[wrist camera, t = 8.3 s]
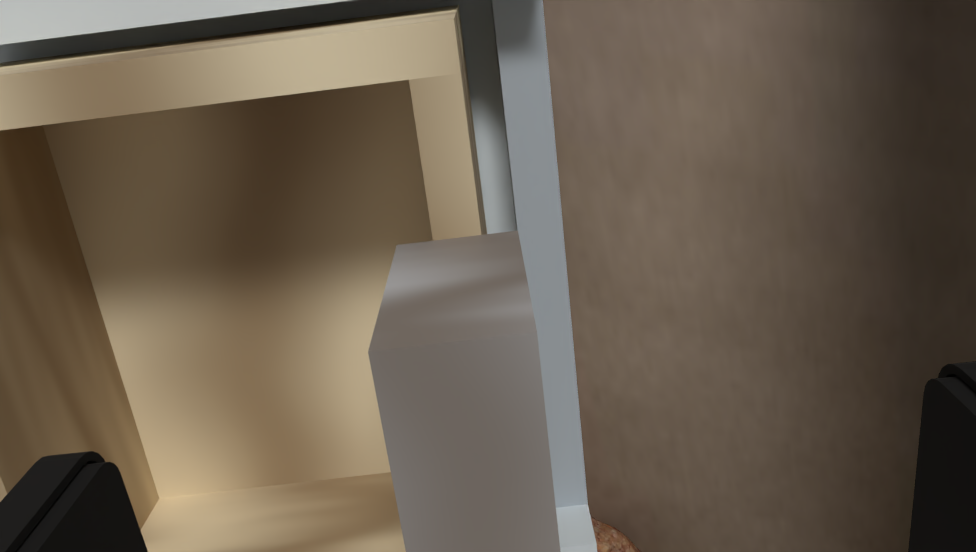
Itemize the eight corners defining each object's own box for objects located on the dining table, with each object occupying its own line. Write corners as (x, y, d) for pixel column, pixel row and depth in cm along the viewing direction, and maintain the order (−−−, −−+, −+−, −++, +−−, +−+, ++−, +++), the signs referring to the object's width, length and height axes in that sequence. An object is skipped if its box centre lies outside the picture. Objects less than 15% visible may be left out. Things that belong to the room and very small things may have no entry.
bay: (526, -73, 18) (559, -100, 11) (578, 479, 23) (621, 680, 16) (-431, 49, 18) (-929, 91, 12) (-172, 564, 24) (-420, 792, 17)
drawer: (486, 1, 17) (504, 31, 8) (538, 464, 22) (590, 826, 12) (5, 62, 18) (-497, 156, 8) (148, 508, 22) (-85, 896, 13)
